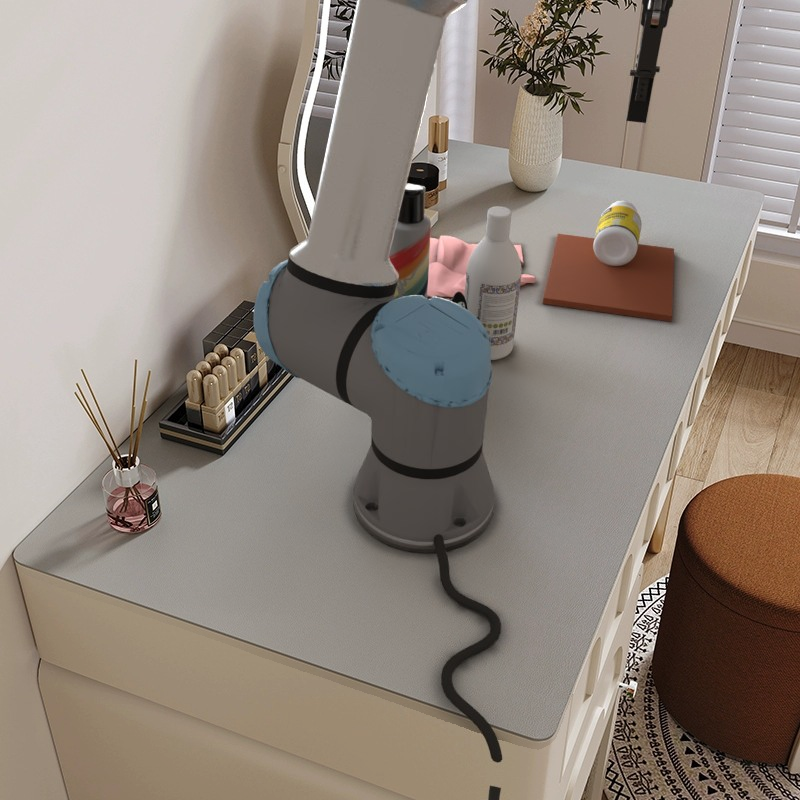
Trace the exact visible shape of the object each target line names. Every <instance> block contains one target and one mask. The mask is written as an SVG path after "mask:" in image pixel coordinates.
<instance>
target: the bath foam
mask: <svg viewBox="0 0 800 800" xmlns="http://www.w3.org/2000/svg"><path fill="white" fill-rule="evenodd" d="M511 223H512V211H511V209H510V208H508V207H507V206H501V205H499V206H498V205H497V206H492V207H490V208H488V209H487V217H486V225H485V236H484V237H483V238H482V240H480V242H478V243H477V244H478V245H477V246H476V248H475V249H474V250H473V252H472V254H471V256H470V258H469V261H468V265H467V271H466V284H465V296H464V297H465V299H466V303H467V309H468V311H470V312H471V313H472V314H473V315H474V316H475V317H479V318H480V320H479V321H480V322H481V323H482V324H483V326H484V328H485V329H486V331H487V333H488V336H489V341H490V344H491V361H496V360H501V359H503V358H505V357H508V356H509V354H511V352H512V350H513V347H514V342H515V334H516V326H517V317H518V309H519V299H520V291H521V286H520V283H521V274H523V273H522V265H521V261H520V257H519V255H518V252H517V250H516V248H515V247H514V245H515V244H514V243H513V242H512V240H511V239H510V233H511V225H512V224H511Z"/></svg>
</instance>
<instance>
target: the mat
mask: <svg viewBox="0 0 800 800" xmlns="http://www.w3.org/2000/svg"><path fill="white" fill-rule="evenodd" d="M594 239H595V237H588V236H580V235H574V234H573V235H572V234H564V233H557V234H556V239H555V243H554V244H555V245H554V248H553V253H552V257H551V261H550V266H549V271H548V275H547V279H546V284H545V289H544V294H543V298H542V305H549V306H556V307H562V308H563V307H564V308H571V309H578V310H585V311H592V312H599V313H606V314H613V315H621V316H628V317H634V318H643V319H649V320H654V321H655V320H656V321H664V322H671V323H672V320H673V309H674V307H673V306H674V305H673V304H674V272H675V271H674V269H675V248H672V247H667V246H666V247H665V246H658V245H649V244H641V243H638V249H637V252H636V254H635V256H634V258H633V259H632V260H631V261H630V262H628V263H626V264H624V265H621V266H610V265H607V264H605V263H603V262H601V261H600V260H599V259H598V258H597V256H596V255H595V252H594V247H593V245H594Z"/></svg>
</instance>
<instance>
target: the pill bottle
mask: <svg viewBox="0 0 800 800" xmlns="http://www.w3.org/2000/svg"><path fill="white" fill-rule="evenodd" d="M642 224H643V223H642V217H641V215H640V214H639V212H638V209H637V208H636V206H635V205H634V204H633V203H632V202H629V201H627V200H617V201H615V202H613V203H611V205H609V207H607V208H605V210H604V211H602V213H601V215H600V217H599V219H598V223H597V227H596V231H595V236H594V238H595V239H594V245H593V247H594V252H595V255H596V256H597V258H598V259H599V260H600V261H601V262H603V263H605V264H607V265H610V266H621V265H624V264H626V263H628V262H630V261H631V260H632V259H633V258H634V256H635V254H636V252H637V249H638V244H640V238H641V237H640V236H641V231H642Z"/></svg>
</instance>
